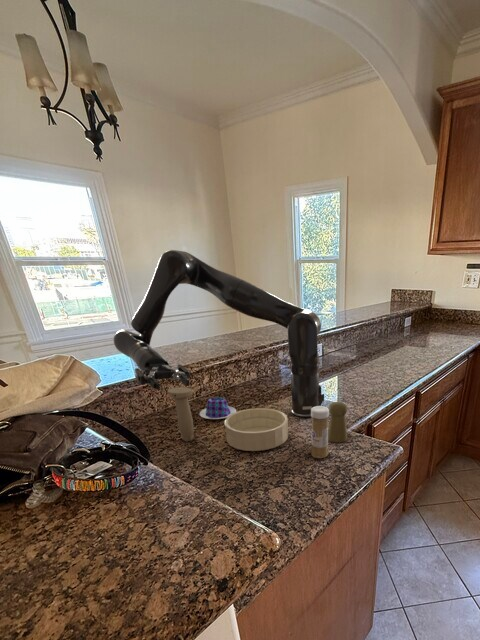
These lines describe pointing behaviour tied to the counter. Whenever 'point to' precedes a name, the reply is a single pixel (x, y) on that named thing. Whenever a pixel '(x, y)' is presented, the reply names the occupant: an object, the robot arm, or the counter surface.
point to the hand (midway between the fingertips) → (173, 384)
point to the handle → (183, 411)
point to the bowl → (256, 429)
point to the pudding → (217, 409)
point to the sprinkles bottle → (319, 431)
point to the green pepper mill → (337, 422)
